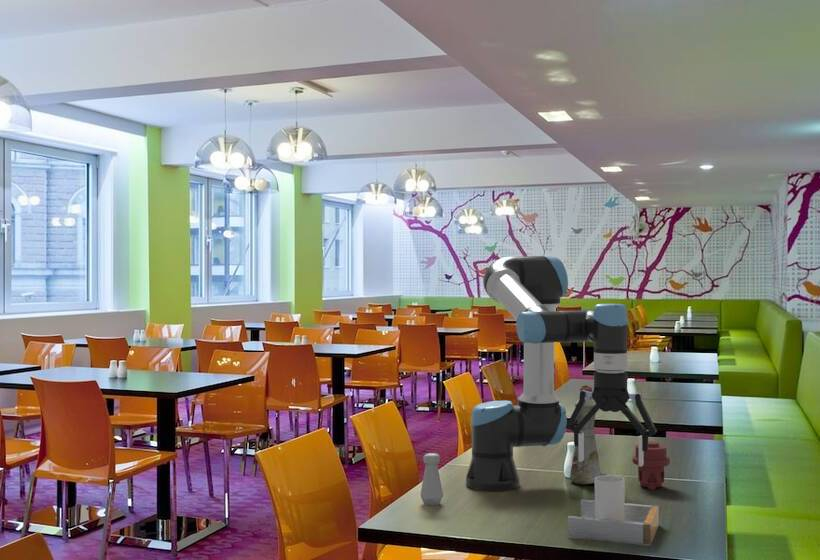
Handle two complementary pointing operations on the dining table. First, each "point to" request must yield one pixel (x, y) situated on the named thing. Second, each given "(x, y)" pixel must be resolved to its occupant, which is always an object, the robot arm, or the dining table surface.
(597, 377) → the robot arm
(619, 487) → the mug
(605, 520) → the channel
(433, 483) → the salt shaker
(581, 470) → the bottle
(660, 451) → the mechanical component
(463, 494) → the dining table surface
